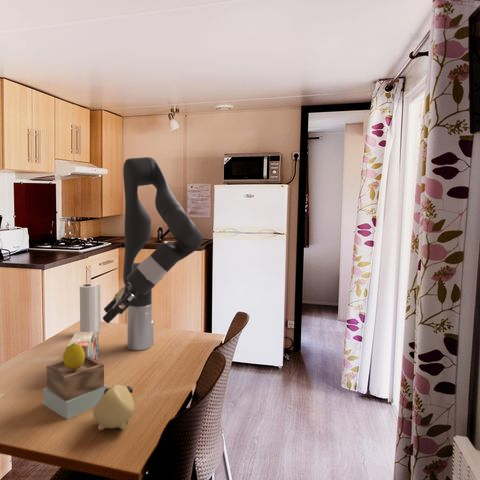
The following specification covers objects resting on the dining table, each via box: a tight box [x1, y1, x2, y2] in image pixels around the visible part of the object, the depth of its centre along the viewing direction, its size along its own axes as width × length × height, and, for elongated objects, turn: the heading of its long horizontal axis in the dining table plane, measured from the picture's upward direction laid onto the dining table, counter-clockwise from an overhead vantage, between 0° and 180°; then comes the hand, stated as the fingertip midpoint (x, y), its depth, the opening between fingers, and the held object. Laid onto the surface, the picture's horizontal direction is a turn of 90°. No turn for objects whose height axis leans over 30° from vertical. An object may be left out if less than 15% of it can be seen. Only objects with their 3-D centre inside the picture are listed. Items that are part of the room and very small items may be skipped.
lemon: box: [62, 343, 85, 371], centre depth 105 cm, size 6×6×8 cm
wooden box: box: [46, 354, 105, 401], centre depth 106 cm, size 11×11×6 cm
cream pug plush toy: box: [92, 384, 136, 431], centre depth 97 cm, size 10×12×11 cm
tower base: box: [42, 383, 108, 420], centre depth 107 cm, size 12×12×5 cm
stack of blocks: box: [66, 331, 100, 361], centre depth 128 cm, size 21×6×12 cm, turn 11°
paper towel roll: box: [79, 283, 102, 334], centre depth 160 cm, size 7×6×21 cm
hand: (105, 316), depth 107 cm, fingers open, 8 cm apart
